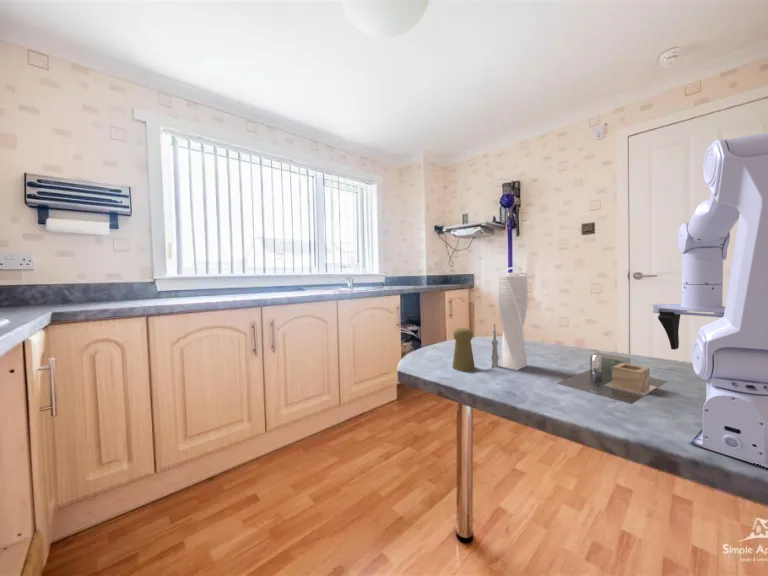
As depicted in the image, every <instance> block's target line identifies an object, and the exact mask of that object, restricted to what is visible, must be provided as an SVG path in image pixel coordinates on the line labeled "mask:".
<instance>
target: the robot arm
mask: <svg viewBox="0 0 768 576" xmlns="http://www.w3.org/2000/svg"><path fill="white" fill-rule="evenodd" d="M704 154H705V155H704V158H703V159H704V160H703V167H702V176H703V181H704V183H705V184H706V185H707V187H708V189H709V191H710V195H709V198H708V199H706V200H704V201H703V200H702V202H700V203H699V204H698V205H697V207H696V208H695V211H693V214H692V216H691V219H690V220H689V222H684V223H681V225H680V227H679V230H678V233H677V245H678V246H677V247H678V250H679V252H680V253H681V295H680V296H681V299H680V300H681V301H680V304H679V303H678V304H677V303H675V304H674V303H653V304H652V313H653V314H659V315H657V319H658V321H659V322H660V324H661V325H662V327H663V329H664V331H665V333H666V335H667V338H668V342H669V345H670V349H671V350H674V351H675V350H677V349H679V345H680V339H679V337H680V335H679V329H680V328H679V327H680V321H681V315H682V316H683V315H684V316H698V317H709V318H711V317H712V318H719V319H716V320H713V321H711V322H708V323H707V324H704V325H703V326H700V327H699V330H698V331H697V332H696V333H697V334H696V338H695V341H694V342H693V343H692V349H691V363H692V368H693V371H694V373H695V374H696V376H698V377H699V378H700V379H702V380H704V381H706V385H705V387H706V388H705V391H706V393H705V394H706V395H705V402H704V404H703V407H702V431H700V432H699V433H698V435H697V436H695V438H694V439H693V441H692V443H693V445H695V446H698V447H700V448H704V449H707V450H709V451H713V452H716V453H720V454H723V455H726V456H728V457H732V458H735V459H739V460H742V461H745V462H748V463H751V464H754V463H755V464H754V465H757V464H759V465H758V466H760V465H761V466H760V467H763V466H764V467H763V468H766V469H768V132H767V131H766V132H762V133H755V134H751V135H745V136H738V137H733V138H727V139H723V138H720V139H716V140H714V141H713V142H712V144H710V145H709V146H708V147H707V150H706V152H705V153H704ZM736 223H737V229H736V234H735V235H736V236H735V241H734V250H733V255H732V261H731V268H730V274H729V281H728V286H727V293H726V299H725V305H723V298H724V296H723V292H724V286H723V285H724V261H726V259H727V256H728V248H729V244H730V239H731V230H732V229H733V228H734V226H735V225H736Z"/></svg>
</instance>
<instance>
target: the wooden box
mask: <svg viewBox="0 0 768 576" xmlns="http://www.w3.org/2000/svg"><path fill="white" fill-rule="evenodd" d="M650 370H651V369H650V367H647V366H646V367H645V366H641V365H635V364H631V363H630V364H626V363H620V364H618V365H615V366H613V367H612V385H614V386H618V387H622V388H626V389H630V390H634V391H638V392H641V391H643V390H644V389H646V388H648V387H649V378H650Z"/></svg>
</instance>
